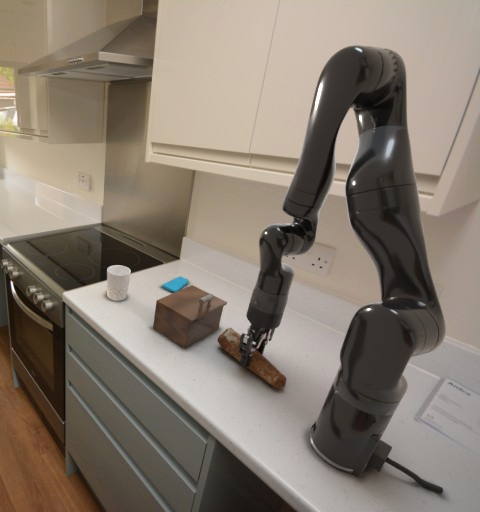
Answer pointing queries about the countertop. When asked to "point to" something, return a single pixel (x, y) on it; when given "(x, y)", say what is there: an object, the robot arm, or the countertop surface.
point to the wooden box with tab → (191, 303)
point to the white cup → (117, 282)
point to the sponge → (175, 284)
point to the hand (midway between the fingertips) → (250, 360)
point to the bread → (258, 362)
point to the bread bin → (184, 326)
